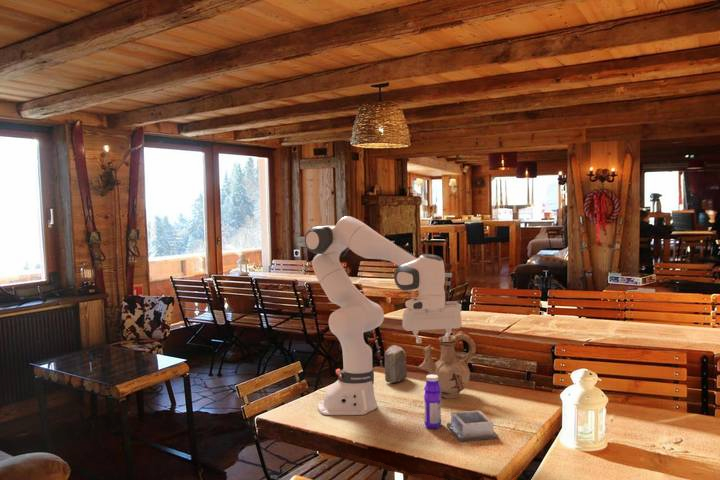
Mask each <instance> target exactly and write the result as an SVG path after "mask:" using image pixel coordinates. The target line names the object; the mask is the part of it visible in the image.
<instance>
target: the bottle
mask: <svg viewBox="0 0 720 480" xmlns="http://www.w3.org/2000/svg"><path fill="white" fill-rule="evenodd" d="M425 378H426V381H425V385H424V395H423V396H424V397H423V399H424V400H423V401H424V421H423V422H424V425H425V427H426V428H427V429H434V430H436V429H440V426H441V424H442V412H441V411H442V409H441V406H442V405H441V403H442V402H441V401H442V398H441V397H442V396H441V394H440V390H441V388H440V386H439V382H438V376H437V375H429V374H427V375H426V377H425Z"/></svg>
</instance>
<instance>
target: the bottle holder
mask: <svg viewBox="0 0 720 480" xmlns="http://www.w3.org/2000/svg"><path fill="white" fill-rule="evenodd" d="M446 428H447V429H448V430H449V431H450V432H451V434H452V435H453V436H454V437H455V438H456V439H457V440H458V442H459V443H462V442H472V441H484V440H496V438H497V439H499V435H498V434H497V433H496V432H495V431H494V421H492V420H491V419H490V418H489V417H488V416H487V415H486V414H485V413H484V412H483V411H482V410H480V409H479V410H467V411H465V410H464V411H456V412H455V411H453V412H451V413H450V422H449V423H446Z"/></svg>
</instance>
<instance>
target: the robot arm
mask: <svg viewBox="0 0 720 480" xmlns="http://www.w3.org/2000/svg"><path fill="white" fill-rule="evenodd" d="M304 245H305V247H306V249H307V251H309V252H310V253H313V254H316V255H314V257H313V259H312V262H311V266H312V269H313V272H314V274H315V277H316V279H317V282H318V283H319V285H320V286H321V289H322V290H323V292H324V293H325V296H326V297H327V299H328V300H329V302H331V303H332V304H335V305H336V306H338V307H340V308H338V309H335V310H334V311H333V312H331V313H330V315H329V318H328V327H329V330H330V332H331V333H332V334H333V335H334V336H335V337H336V338H337V340H338V341H339V343H340V346H341V349H342V350H341V351H342V362H343V363H342V364H343V368H342V369H340V368H337V369H335V374H336V375H337V380H336V381H335V382H334V383H332V384H331V385H329V386H328V387H327V388H326V389H325V392H324V394H323V399H322V400H320V401H319V402H318V404H317V410H318V412H319V413H320V414H322V415H324V416H364V415H366V414H368V413H369V412H371V411H374V410H375V409H377V407H378V404H377V399H376V395H375V390H374V389H375V388H374V383H375V371H374V369H373V349H372V347H371V346H370V345H369V344H367V343H366V340H365V338H364V333H366V332H371V331H373V330H374V329H376V328H378V327H380V326H381V325H382V323H383V322H384V320H385V313H384V310H383V308H382V306H381V305H380V304H378V303H376V302H375V301H372V300H370V299H369V298H368V297H366V296H365V294H364V293H362V292H361V291H360V290H359V289H358V288H357V286H356V285H355V284H354V283H353V281H352V280H351V278H350V277H349V275H348V273H347V272H346V270H345V268H344V266H342V263H341V261H340V258H342V257H345V256H346V254H347V253H348V251H349V250H351V251H352V253H354V254H355V255H357V256H360V257H362V258H363V259H371V260H372V259H373V260H382V261H383V260H384V261H389V262H391V263H393V264H395V265H397V268H396V269H395V270H394V275H393V279H394V283H395V285H396V287H397V288H398V289H399V290H401V291H405V292H410V291H418V296H416V297H413V298H411V299H407V300H406V301H405V302H404V303H405V307H406V308H405V309H404V311H403V312H402V313H403V314H402V322H401V323H402V328H403V329H404V331H406V332H410V331H411V332H412V334H413V335H414V337H415V343H416V344H422V343H423V341H422V337H420V336H419V335H418V334H419V331H432V330H445V331H446V333H445V334H444V335H442V337H443V342H448V337H449V335H451V333H452V329H453V330H454V329H460V328H461V327H462V325H463V324H462V316H461V312H462V305H461V303H460V302H458V301H457V300H453V301H449V300H448V301H446V291H445V288H444V287H445V283H446V282H445V281H446V277H445V276H446V273H445V271H446V269H445V263H444V260H443V258H442V257H441V256H439V255H436V254H433V253H432V254H431V253H423V254H421V255H420V256H419V257H417V256H416V255H414V254H412V253H410V252H409V251H407V250H405V249H404V248H402V247H401V246H399V245H397V244H396V243H394V242H393V241H391V240H389V239H387V238H386V237H384V236H383V235H381V234H380V233H379V232H377V231H376V230H374V229H373V228H371V227H370V226H369V225H368V224H366V223H364V222H363V221H361V220H360V219H357V218H355V217H353V216H350V215H345V216H343V217H342V218H339V220H338V221H337V222H336V224H335V225H331V224H330V225H323V226H322V225H319V226H318V225H317V226H313V227H312V228H310V229H308V230H307V231H306V233H305V235H304Z"/></svg>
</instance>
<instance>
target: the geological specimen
mask: <svg viewBox="0 0 720 480" xmlns="http://www.w3.org/2000/svg"><path fill="white" fill-rule="evenodd" d="M383 355H384V378H385V382H386V383H390V384H391V383H393V384H394V383H397V382H400V381H403V380H404V379H406V378H407V377H408V375H407V373H408V372H407V359H406V358H407V354H406V352H405V350H404V349H403V348H402V347H401V346H400V345H399V346H398V345H396V344H392V345H390V346H388V347H387V349H386V350H385V352H384V354H383Z"/></svg>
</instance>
